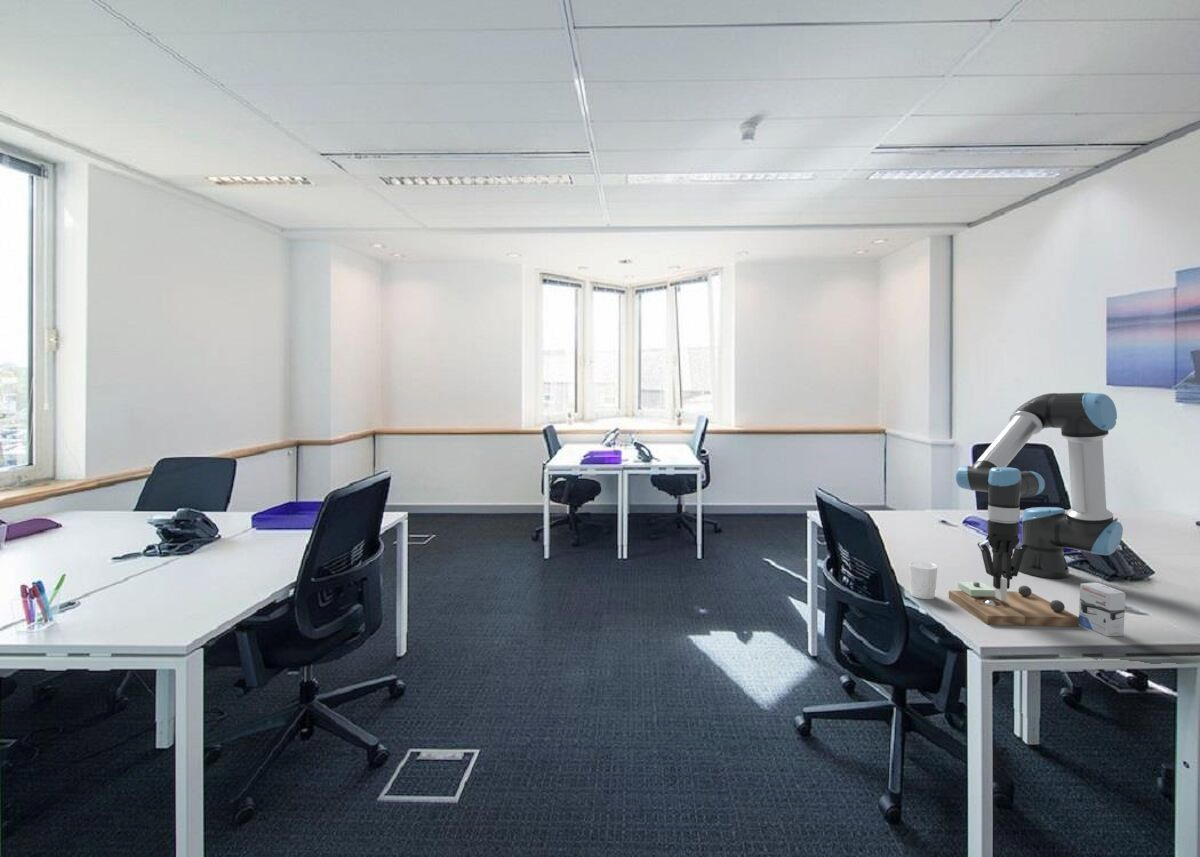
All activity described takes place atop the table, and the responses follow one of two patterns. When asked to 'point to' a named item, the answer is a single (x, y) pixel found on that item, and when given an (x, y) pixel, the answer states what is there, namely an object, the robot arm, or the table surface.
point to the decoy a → (1025, 591)
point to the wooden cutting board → (1014, 610)
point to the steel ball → (990, 602)
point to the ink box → (1102, 609)
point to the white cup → (922, 579)
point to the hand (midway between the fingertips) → (1000, 598)
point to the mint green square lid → (976, 589)
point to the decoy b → (1057, 606)
